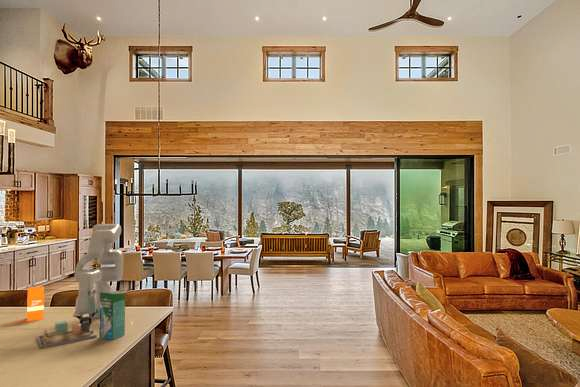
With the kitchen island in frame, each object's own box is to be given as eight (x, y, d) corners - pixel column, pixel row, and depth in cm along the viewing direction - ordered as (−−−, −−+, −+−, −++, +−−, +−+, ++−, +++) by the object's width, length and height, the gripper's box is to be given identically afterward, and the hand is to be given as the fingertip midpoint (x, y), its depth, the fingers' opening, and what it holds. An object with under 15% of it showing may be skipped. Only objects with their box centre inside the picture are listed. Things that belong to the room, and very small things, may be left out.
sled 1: (87, 329, 216) (87, 315, 216) (89, 332, 210) (89, 318, 210) (44, 337, 202) (44, 322, 203) (45, 341, 197) (45, 326, 197)
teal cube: (65, 329, 208) (65, 320, 208) (67, 332, 204) (67, 322, 204) (55, 331, 205) (55, 322, 205) (56, 334, 201) (56, 324, 201)
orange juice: (43, 318, 236) (44, 287, 237) (26, 321, 231) (27, 289, 232) (43, 315, 243) (44, 285, 243) (27, 318, 238) (27, 286, 238)
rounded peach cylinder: (80, 332, 204) (80, 322, 205) (81, 334, 201) (81, 324, 201) (71, 333, 202) (71, 324, 202) (72, 335, 198) (72, 326, 198)
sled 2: (87, 334, 208) (87, 319, 208) (90, 337, 202) (90, 322, 203) (42, 342, 194) (42, 327, 195) (44, 346, 189) (44, 331, 189)
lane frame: (89, 328, 218) (89, 326, 218) (96, 337, 203) (96, 335, 203) (37, 338, 202) (37, 336, 202) (40, 348, 187) (40, 346, 187)
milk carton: (124, 334, 207) (125, 289, 208) (112, 340, 199) (112, 293, 200) (112, 332, 210) (112, 288, 211) (99, 338, 202) (99, 292, 203)
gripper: (100, 290, 221) (99, 321, 220) (68, 294, 210) (68, 327, 210) (103, 292, 215) (102, 324, 214) (70, 297, 205) (70, 330, 204)
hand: (85, 325), depth 212 cm, fingers closed on sled 1, 3 cm apart
